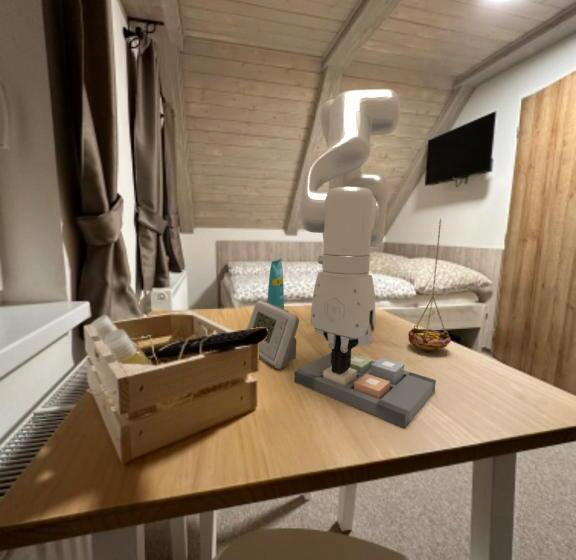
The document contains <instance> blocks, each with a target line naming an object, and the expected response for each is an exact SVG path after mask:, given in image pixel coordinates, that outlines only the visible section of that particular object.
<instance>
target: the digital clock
mask: <svg viewBox="0 0 576 560" xmlns="http://www.w3.org/2000/svg"><path fill="white" fill-rule="evenodd" d="M299 324H300V318H299V317H298V316H297V315H296V314H293V313H291V312H289V311H288V310H286V309H285V308H284V309H282V308H279V307H277V306H275V305H272V304H270V303H267V302H265V301H263V300H259V301H257V302H255V304H254V307H253V311H252V314H251V316H250V320H249V322H248V326H247V329H251V328H256V327H266V328H267V329H268V336H267V338H266V339H265V340H264V341H263V342H261V343H260V344H259V356H258V357H259V358H260V359H262V360H263V361H265V363H267V364H269V365H271V366H273V367H274V368H276V369H278V370H281V369H283V368H285V366H286V364H287V361H291V360H295V359H296V358H297V339H296V337H295V336H296V334H297V331H298V328H299ZM247 329H246V330H247Z"/></svg>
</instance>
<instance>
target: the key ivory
mask: <svg viewBox="0 0 576 560" xmlns="http://www.w3.org/2000/svg"><path fill="white" fill-rule="evenodd" d="M323 378H325V379H327V380H330V381H333V382H335V383H338V384H340V385H343V386H347V385H348V384H350V383H351V382H352V381H354V380H355V379H357V370H354V369H351V368H349V369H348V370H347V371H345V372H343V373H342V374H337V372H332V366H331V367H329V368H328V369H326V370H324V371H323Z"/></svg>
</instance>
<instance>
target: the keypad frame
mask: <svg viewBox="0 0 576 560" xmlns="http://www.w3.org/2000/svg"><path fill="white" fill-rule="evenodd" d="M352 354H353V353H351V355H352ZM375 362H376V361H374V360H372V364H373V363H375ZM331 366H332V364H331V352H329V353H327V354H325V355H323V356H321V357H319V358H317V359H315V360H313V361H312V362H310V363H308V364H305V365H303V366H302V367H299V368H298V369H296V370H294V373H293V378H294V379H293V382H295V383H297V384H299V385H301V386H304V387H306V388H308V389H310V390H313V391H316V392H318V393H320V394H322V395H325V396H327V397H329V398H331V399H334V400H337V401H340V402H341V403H344V404H346V405H348V406H351V407H353V408H355V409H358V410H360V411H363V412H365V413H367V414H370V415H373V416H374V417H377V418H380V419H381V420H384V421H387V422H389V423H391V424H394V425H395V426H399V427H401V428H403V429H406V428H407V426H408V425H409V424H410V422H412V420H413V419H414V417H415V416H416V415H417V414H418V413H419V412H420V410H421V409H422V407H423V406H424V405H425V404H426V402H427V401H428V400H429V399H430V397H432V395H433V393H434V392H435V391H436V383H437V380H436V379H433V378H431V377H428V376H424V375H420V374H417V373H413V372H411V371H407V370H405V369H404V375H403V378H402V379H401V380H400V381H399V382H398V383H397V384H396V385H393V384H390V390H389V392H388V393H387V394H386V395H385V396H384V397H383V398H382V399H381V400H380V399H377V398H374V397H372V396H369V395H367V394H364V393H361V392H359V391H356V390H354V382H355V381H357V380H358V379H360V378H361V377H362V376H364V375H365V374H369V375H371V369H369V370H368V371H366V372H365V373H364V374H361V373H358V372H357V379H355V380H354V381H352V382H351V383H350V384H348V385H347V386H343V385H340V384H338V383H335V382H333V381H330V380H327V379H325V378H323V371H324V370H326V369H328V368H329V367H331Z"/></svg>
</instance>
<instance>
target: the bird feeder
mask: <svg viewBox="0 0 576 560" xmlns="http://www.w3.org/2000/svg"><path fill="white" fill-rule="evenodd" d="M441 226H442V218H441V217H440V220H439V223H438V232H437V233H438V235H437V245H436V255H435V262H434V263H435V264H434V272H433V273H434V274H433V283H432V285H433V286H432V287H433V288H432V291H431V292H432V293H431V294H432V295H431V298H430V299H429V302H428V304H427V305H426V307H425V309H424V311H423V313H422V315H421V317H420V319H419V320H418V322H417V324H416V325H414V326H413V328H411V329H410V330H409V332H408V334H407V335H408V336H407V337H408V341H409V344H411V345H412V346H414V347H415V348H418V349H420V350H424V351H440V350H442V349H444V348H446V347H447V346H448V345H449V344H450V343H451V336H450V335H449V332H448V330H446V328H445V325H444V323H443V319H442V318H441V317H442V316H441V314H440V312H439V308H438V305H437V303H436V299H435V296H434V294H435V293H434V292H435V285H436V278H437V276H436V275H437V267H438V266H437V264H438V256H439V246H440V234H441V228H442V227H441ZM433 303H434V307H435V308H436V312H437V314H438V318H439V320H440V323H441V325H442V329H443V332H441V331H439V330H438V331H437V330H433V329H430V328H429V326H430V319H431V315H432V314H431V313H432V309H433V308H432V307H433ZM428 308H429V311H428V312H429V313H428V319H427V324H426V328H419V324H420V323H421V322H422V321H421V320H422V319H423V317H424V315H425V313H426V312H427V309H428Z"/></svg>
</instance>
